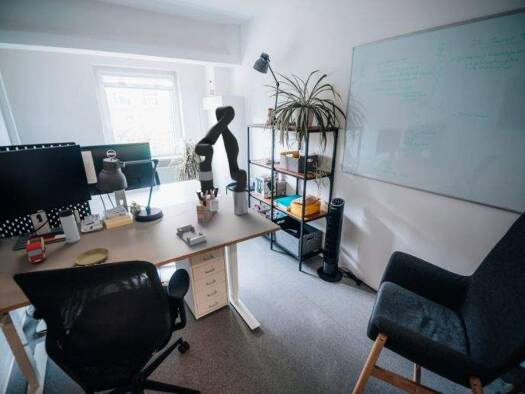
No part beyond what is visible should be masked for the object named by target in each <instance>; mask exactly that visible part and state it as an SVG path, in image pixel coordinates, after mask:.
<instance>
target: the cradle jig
mask: <svg viewBox="0 0 525 394" xmlns="http://www.w3.org/2000/svg"><path fill="white" fill-rule="evenodd" d="M176 234H177V236H179V238H181V240H182V241H184V242H185V243H186V244H187V245H188V246H189V247H190V248H192V247H194V246H197V245H199V244H203V243H205V242H207V240H208V239H206V235H205V234H204V233H203V232H201V231H200V232H198V231H197V230H196V229H195V226H194V225H193V224H192V223H188V224H185V225H181V226H177V227H176Z"/></svg>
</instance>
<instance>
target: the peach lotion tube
mask: <svg viewBox="0 0 525 394" xmlns="http://www.w3.org/2000/svg"><path fill="white" fill-rule="evenodd" d="M202 194H203V193H201V197H202ZM198 200H199V199H198ZM205 201H206V208H207V209H209V210H210V211H215V210H217V211H218V210H219V209H220V207H219V205H220V204H219V199H217V198H216V197H215V198H213V197H212V196H210V195H207V197H206V200H205ZM199 203H200V204H201V205H202V206H203V201H201V200H199ZM204 207H205V206H204Z"/></svg>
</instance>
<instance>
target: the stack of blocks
mask: <svg viewBox="0 0 525 394" xmlns="http://www.w3.org/2000/svg"><path fill="white" fill-rule="evenodd" d="M195 205H196V206H195V208H196V215H197V216H196V217H197V223H207V222H208V221H209V220H210V219H211V218H212V216H213V215H214V214H215V213H216V212H217V211H218V210H215V211H210V210H209V209H207V208H206V207H204V206H202V205H201V204H200V202H198V203H197V204H195Z"/></svg>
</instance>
